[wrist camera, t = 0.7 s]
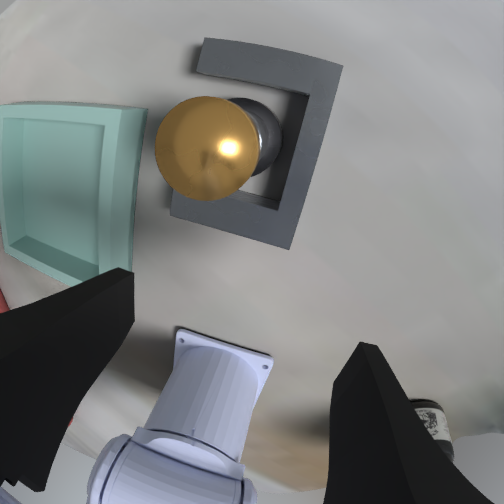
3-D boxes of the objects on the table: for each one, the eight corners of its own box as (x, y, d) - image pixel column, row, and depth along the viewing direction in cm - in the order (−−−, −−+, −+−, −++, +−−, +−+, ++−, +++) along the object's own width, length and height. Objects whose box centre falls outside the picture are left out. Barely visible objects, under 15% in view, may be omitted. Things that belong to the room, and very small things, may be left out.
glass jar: (272, 182, 17) (248, 222, 11) (201, 163, 17) (141, 193, 11) (291, 109, 15) (279, 101, 9) (216, 93, 15) (159, 81, 9)
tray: (131, 283, 22) (111, 304, 20) (25, 239, 23) (4, 252, 20) (148, 108, 16) (121, 109, 14) (24, 101, 17) (-1, 105, 15)
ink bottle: (459, 394, 22) (485, 495, 11) (426, 439, 26) (437, 524, 15) (373, 399, 23) (380, 518, 13) (350, 443, 27) (348, 537, 17)
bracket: (291, 237, 18) (289, 250, 17) (181, 206, 19) (169, 215, 17) (339, 71, 14) (343, 65, 12) (214, 44, 14) (204, 37, 13)
